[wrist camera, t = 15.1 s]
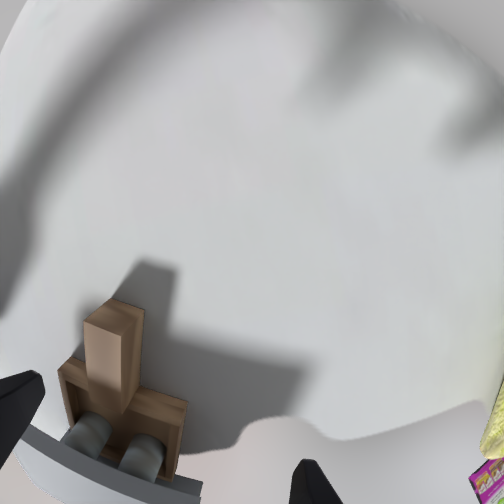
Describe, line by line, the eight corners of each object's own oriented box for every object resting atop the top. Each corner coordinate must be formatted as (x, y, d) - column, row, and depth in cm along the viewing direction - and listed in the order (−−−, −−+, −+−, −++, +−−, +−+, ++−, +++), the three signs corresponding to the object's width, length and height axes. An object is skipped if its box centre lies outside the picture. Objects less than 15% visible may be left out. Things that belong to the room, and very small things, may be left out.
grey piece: (69, 434, 27) (34, 485, 18) (52, 364, 24) (-4, 420, 14) (202, 485, 27) (185, 551, 17) (218, 427, 24) (196, 517, 14)
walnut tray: (83, 429, 27) (63, 459, 21) (66, 281, 21) (24, 307, 16) (177, 466, 27) (164, 502, 21) (201, 327, 21) (180, 373, 16)
